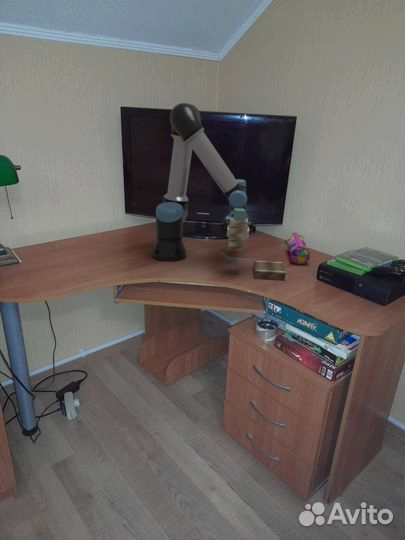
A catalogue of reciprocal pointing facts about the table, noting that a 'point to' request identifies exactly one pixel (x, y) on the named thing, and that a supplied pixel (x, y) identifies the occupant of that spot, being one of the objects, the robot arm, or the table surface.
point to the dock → (269, 270)
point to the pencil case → (297, 249)
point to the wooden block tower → (237, 235)
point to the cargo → (239, 214)
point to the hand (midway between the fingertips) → (237, 233)
